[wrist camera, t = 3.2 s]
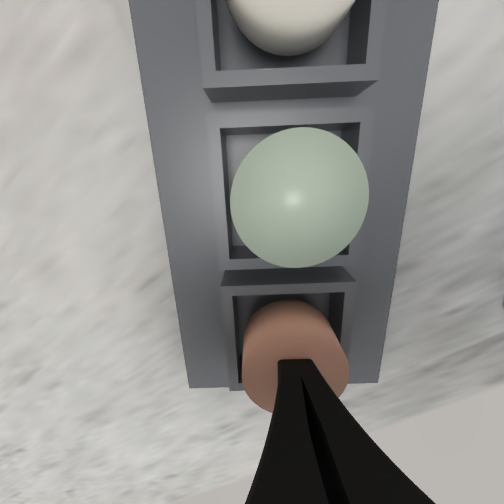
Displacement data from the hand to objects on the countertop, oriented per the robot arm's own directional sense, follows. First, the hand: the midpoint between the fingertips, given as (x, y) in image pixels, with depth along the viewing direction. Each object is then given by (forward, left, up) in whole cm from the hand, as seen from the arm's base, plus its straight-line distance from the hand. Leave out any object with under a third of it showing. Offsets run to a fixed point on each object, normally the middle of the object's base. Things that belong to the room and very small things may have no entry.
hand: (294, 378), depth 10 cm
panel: (0, -7, -6) cm, 9 cm away
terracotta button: (0, 0, -3) cm, 3 cm away
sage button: (0, -7, -3) cm, 7 cm away
